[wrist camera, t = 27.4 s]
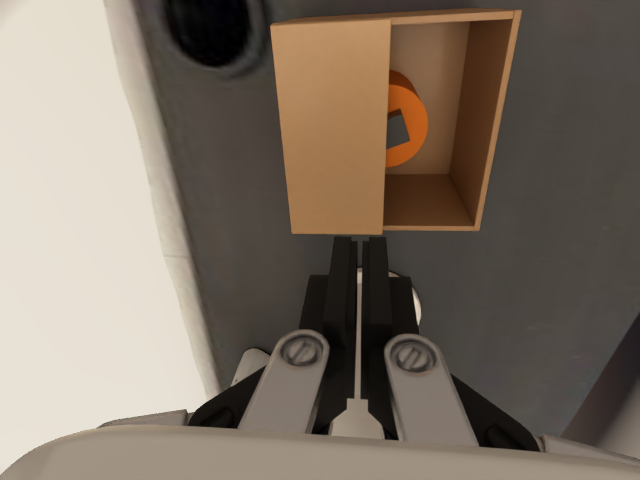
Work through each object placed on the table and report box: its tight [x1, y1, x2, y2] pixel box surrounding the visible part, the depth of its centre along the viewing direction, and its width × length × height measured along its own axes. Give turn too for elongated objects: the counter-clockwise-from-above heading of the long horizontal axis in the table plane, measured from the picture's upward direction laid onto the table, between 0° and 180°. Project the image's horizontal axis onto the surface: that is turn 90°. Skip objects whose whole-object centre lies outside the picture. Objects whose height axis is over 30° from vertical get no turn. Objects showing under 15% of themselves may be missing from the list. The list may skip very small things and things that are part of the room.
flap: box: [270, 19, 391, 234], centre depth 25 cm, size 14×7×1 cm, turn 3°
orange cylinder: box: [385, 70, 428, 168], centre depth 30 cm, size 6×6×9 cm
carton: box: [272, 8, 522, 231], centre depth 29 cm, size 14×14×10 cm
